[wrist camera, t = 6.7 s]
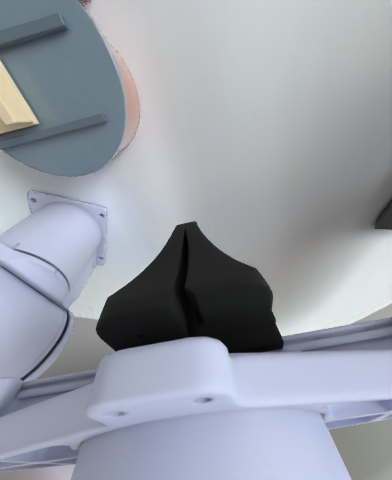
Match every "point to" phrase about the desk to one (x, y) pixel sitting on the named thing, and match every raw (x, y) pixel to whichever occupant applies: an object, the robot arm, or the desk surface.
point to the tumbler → (66, 87)
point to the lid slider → (13, 106)
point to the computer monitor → (385, 219)
